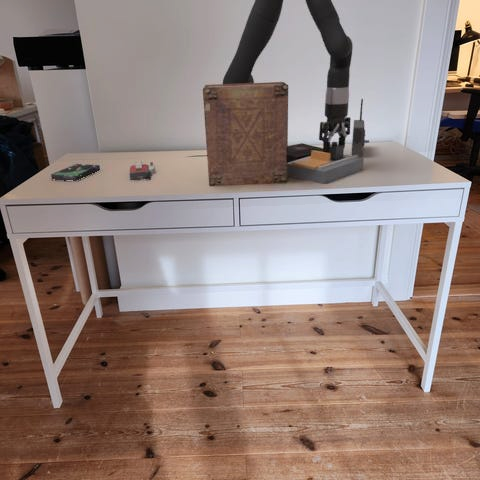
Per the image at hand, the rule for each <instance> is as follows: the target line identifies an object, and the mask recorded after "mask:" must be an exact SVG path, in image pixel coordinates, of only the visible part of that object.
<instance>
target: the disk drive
mask: <svg viewBox="0 0 480 480" xmlns="http://www.w3.org/2000/svg"><path fill="white" fill-rule="evenodd" d="M99 170H100V171H101V167H100V164H88V163H87V164H85V165H84V164H82V163H75V164H73V165H70V166H68V167H66V168H63V169H61V170H59V171H56V172H53V173H51V174H50V176H51V180H52V179H55V180H73V181H77V180H79V179H81V178H83V177H86V176H88V175H90V174H92V173H94V174H96V173H95V172H97V171H99ZM100 171H99V172H100ZM97 173H98V172H97ZM92 175H93V174H92ZM90 176H91V175H90ZM88 177H89V176H88ZM86 178H87V177H86ZM79 181H80V180H79ZM77 182H78V181H77Z"/></svg>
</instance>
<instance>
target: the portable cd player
mask: <svg viewBox="0 0 480 480" xmlns="http://www.w3.org/2000/svg"><path fill="white" fill-rule="evenodd" d="M313 150H314V151H320V152H323V147H318V146H315V145H311V144H306V143H296V144H291V145H288V149H287V163H288V162H292V161H295V160H299V159H302V158H305V157H309V156H311V151H313Z"/></svg>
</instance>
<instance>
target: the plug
mask: <svg viewBox="0 0 480 480" xmlns="http://www.w3.org/2000/svg"><path fill="white" fill-rule="evenodd" d="M344 149H345V148H344V146H343V145H338V141H332V142H331V143H330V152H329V153H330V160H333V161H338V160H341V159H343V155H345V153H344V152H345V150H344Z"/></svg>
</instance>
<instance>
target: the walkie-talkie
mask: <svg viewBox="0 0 480 480" xmlns="http://www.w3.org/2000/svg"><path fill="white" fill-rule="evenodd" d="M149 164H150V165H149ZM149 164H145V163H143V162H142V161H136V162H135V164H134V165H131V166H130V167H129V180H137V181H142V180H141V179H148V180H150V178H151V176H152V174H153V175H155V174H156V166H155V165H154V163H153V162H152V161H151V162H150V163H149ZM154 173H155V174H154Z"/></svg>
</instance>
